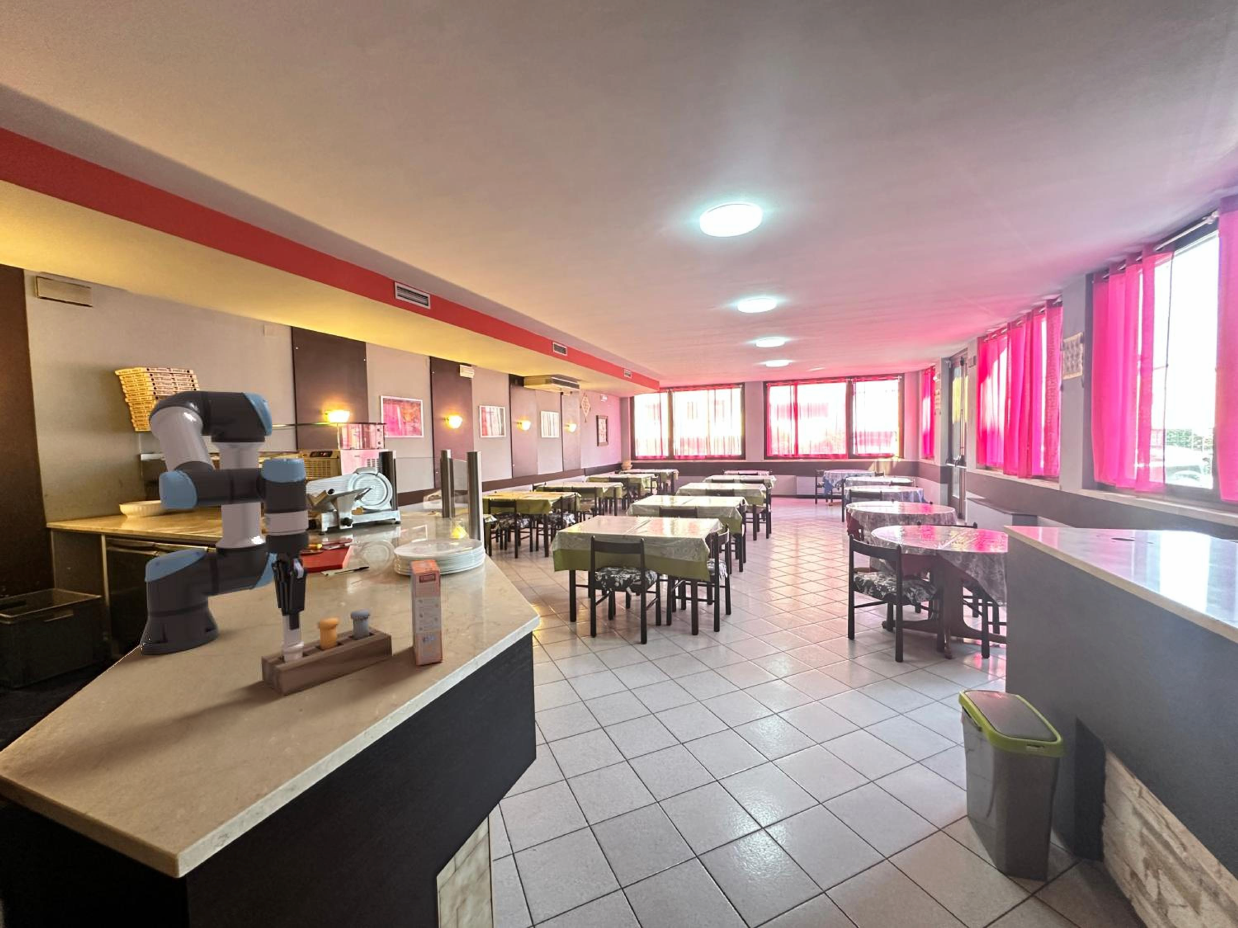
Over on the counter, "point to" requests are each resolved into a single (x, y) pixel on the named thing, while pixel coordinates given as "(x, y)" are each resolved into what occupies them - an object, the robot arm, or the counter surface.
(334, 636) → the orange plug
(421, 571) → the cracker box
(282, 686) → the socket board
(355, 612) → the slate plug
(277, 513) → the robot arm
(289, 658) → the ivory plug
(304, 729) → the counter surface
